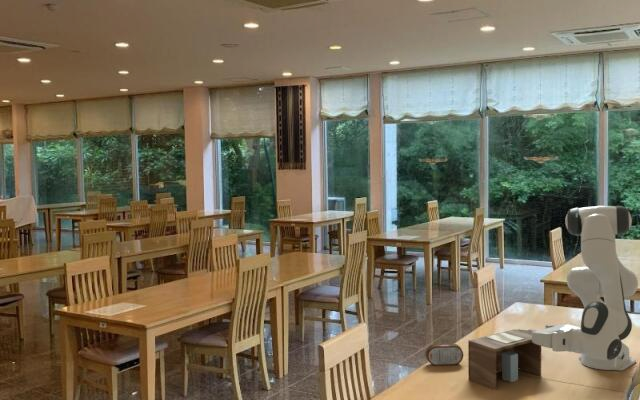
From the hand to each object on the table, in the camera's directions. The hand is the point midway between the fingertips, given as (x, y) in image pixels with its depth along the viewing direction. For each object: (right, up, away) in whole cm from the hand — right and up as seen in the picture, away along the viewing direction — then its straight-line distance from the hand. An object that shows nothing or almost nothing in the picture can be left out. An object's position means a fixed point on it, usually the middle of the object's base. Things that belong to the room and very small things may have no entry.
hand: (538, 329), depth 226 cm
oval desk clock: (-27, -21, +30) cm, 46 cm away
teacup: (+10, -19, +46) cm, 50 cm away
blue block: (-6, -21, +12) cm, 25 cm away
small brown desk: (-8, -21, +14) cm, 27 cm away
